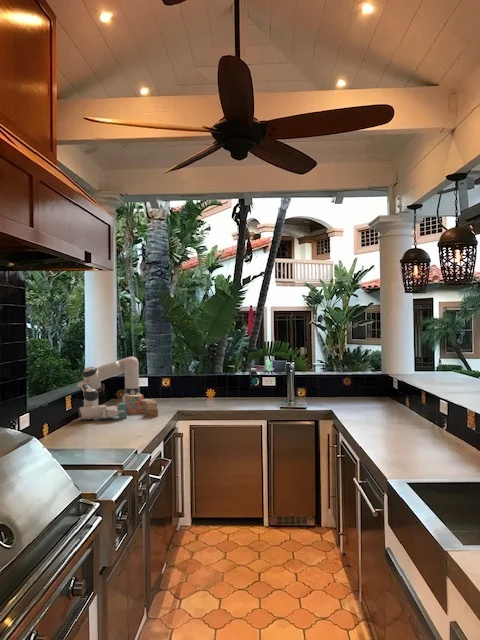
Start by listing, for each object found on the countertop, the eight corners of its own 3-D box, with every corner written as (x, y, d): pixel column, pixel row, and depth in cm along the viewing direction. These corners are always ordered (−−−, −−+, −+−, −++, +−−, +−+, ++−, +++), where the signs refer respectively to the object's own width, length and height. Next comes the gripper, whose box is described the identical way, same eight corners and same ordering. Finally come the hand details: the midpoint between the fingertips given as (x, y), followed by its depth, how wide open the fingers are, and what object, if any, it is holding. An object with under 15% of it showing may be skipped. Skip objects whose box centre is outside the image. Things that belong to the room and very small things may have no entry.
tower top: (146, 408, 345) (146, 401, 345) (156, 407, 346) (156, 400, 346) (146, 410, 338) (146, 403, 338) (156, 409, 339) (156, 402, 339)
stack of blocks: (155, 412, 357) (154, 395, 357) (150, 413, 351) (150, 396, 351) (129, 410, 364) (129, 394, 364) (125, 412, 358) (124, 395, 358)
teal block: (119, 417, 338) (118, 403, 338) (126, 417, 339) (126, 402, 339) (119, 419, 333) (119, 404, 333) (126, 418, 334) (126, 403, 334)
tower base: (145, 415, 345) (145, 408, 345) (156, 414, 347) (156, 407, 347) (146, 417, 337) (146, 410, 337) (158, 416, 339) (157, 409, 339)
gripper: (103, 413, 342) (123, 411, 346) (103, 418, 323) (124, 417, 327) (103, 404, 342) (123, 403, 346) (103, 409, 323) (124, 407, 327)
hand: (124, 409), depth 336 cm, fingers closed on teal block, 5 cm apart
